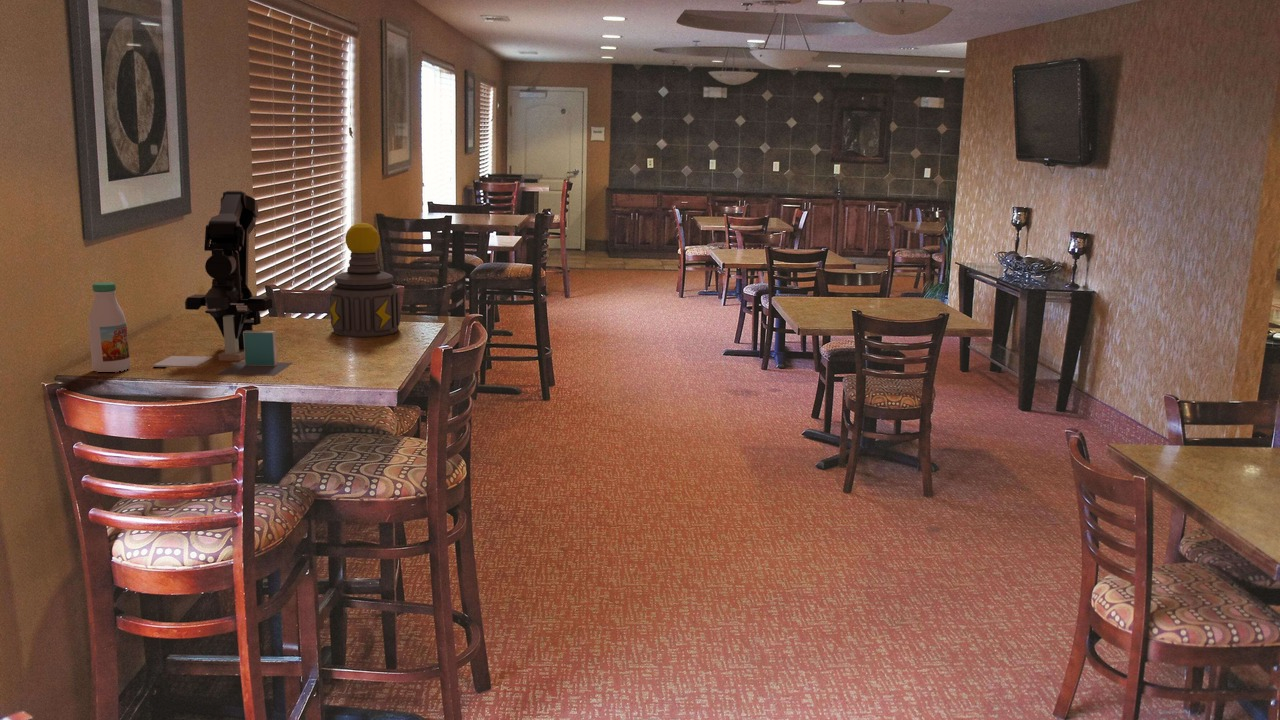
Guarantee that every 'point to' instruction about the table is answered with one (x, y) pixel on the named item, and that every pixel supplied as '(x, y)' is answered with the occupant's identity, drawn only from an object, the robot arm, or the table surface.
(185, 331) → the table surface
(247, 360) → the tile
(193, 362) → the pad
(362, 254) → the decorative lamp
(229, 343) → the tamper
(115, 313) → the milk bottle
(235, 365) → the mat
